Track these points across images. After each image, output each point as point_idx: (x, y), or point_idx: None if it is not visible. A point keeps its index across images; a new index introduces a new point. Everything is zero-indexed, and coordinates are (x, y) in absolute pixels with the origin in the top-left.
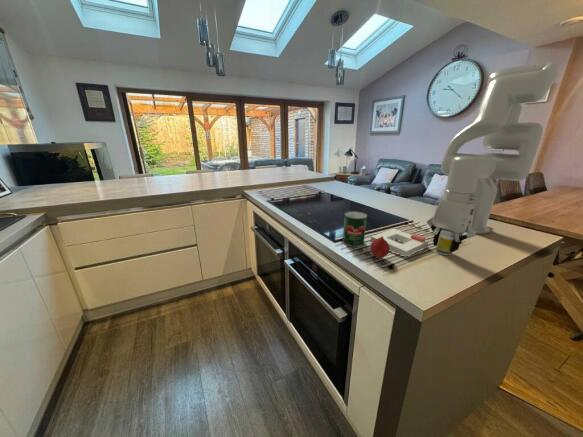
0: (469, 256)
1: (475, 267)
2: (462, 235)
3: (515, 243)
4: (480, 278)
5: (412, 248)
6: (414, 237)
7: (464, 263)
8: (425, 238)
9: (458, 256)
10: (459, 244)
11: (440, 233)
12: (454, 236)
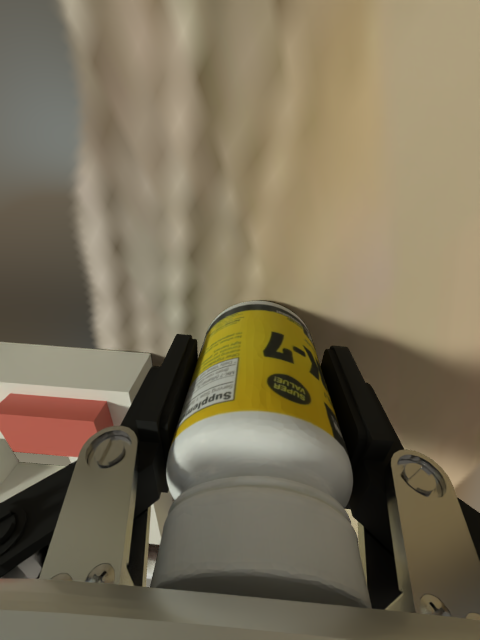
0: (438, 261)
1: (465, 394)
2: (466, 551)
3: None
4: (474, 467)
5: (155, 517)
6: (47, 449)
7: (403, 392)
8: (96, 419)
9: (358, 328)
10: (386, 421)
11: (171, 494)
12: (339, 497)
